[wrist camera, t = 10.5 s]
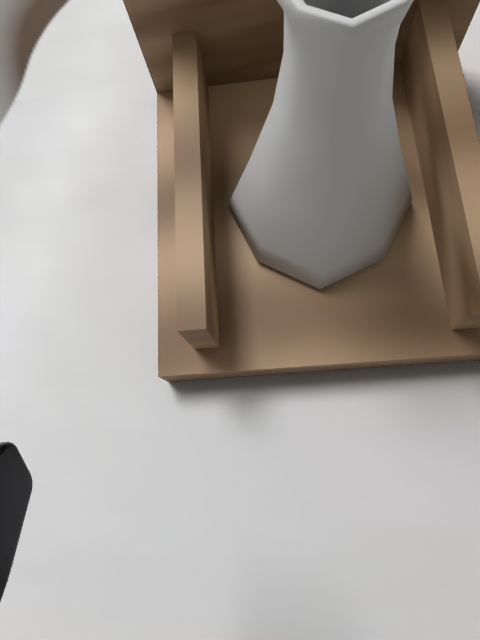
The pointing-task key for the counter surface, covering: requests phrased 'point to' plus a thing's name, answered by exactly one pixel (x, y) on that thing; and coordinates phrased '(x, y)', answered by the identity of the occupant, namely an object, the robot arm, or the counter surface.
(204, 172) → the spice stand
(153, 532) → the counter surface
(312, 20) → the flask
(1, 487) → the robot arm
